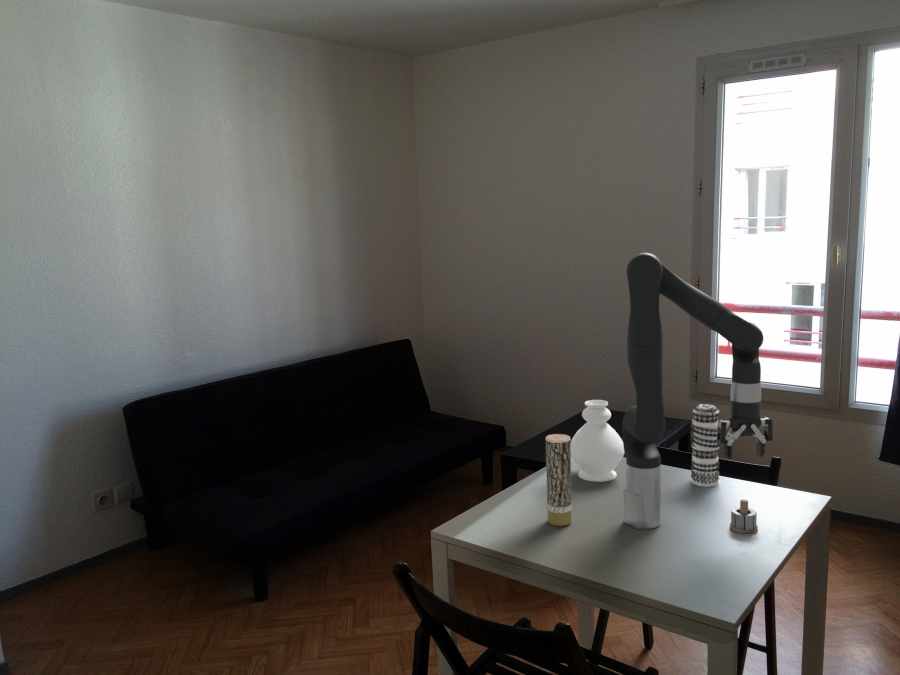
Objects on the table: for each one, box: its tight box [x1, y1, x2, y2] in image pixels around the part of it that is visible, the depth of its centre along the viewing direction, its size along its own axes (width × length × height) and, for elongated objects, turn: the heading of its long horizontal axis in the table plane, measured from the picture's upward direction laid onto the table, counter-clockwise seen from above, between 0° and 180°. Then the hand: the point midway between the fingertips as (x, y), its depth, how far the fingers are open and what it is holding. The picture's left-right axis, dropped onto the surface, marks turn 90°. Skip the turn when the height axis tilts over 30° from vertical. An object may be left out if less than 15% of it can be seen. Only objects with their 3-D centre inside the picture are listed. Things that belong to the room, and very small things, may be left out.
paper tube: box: [545, 433, 573, 527], centre depth 205 cm, size 7×7×25 cm
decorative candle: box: [689, 403, 721, 488], centre depth 231 cm, size 9×9×25 cm
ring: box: [730, 506, 758, 530], centre depth 197 cm, size 6×6×4 cm
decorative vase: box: [570, 399, 625, 483], centre depth 242 cm, size 18×18×25 cm
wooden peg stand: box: [729, 499, 759, 535], centre depth 197 cm, size 7×7×8 cm
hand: (744, 457), depth 195 cm, fingers open, 8 cm apart
